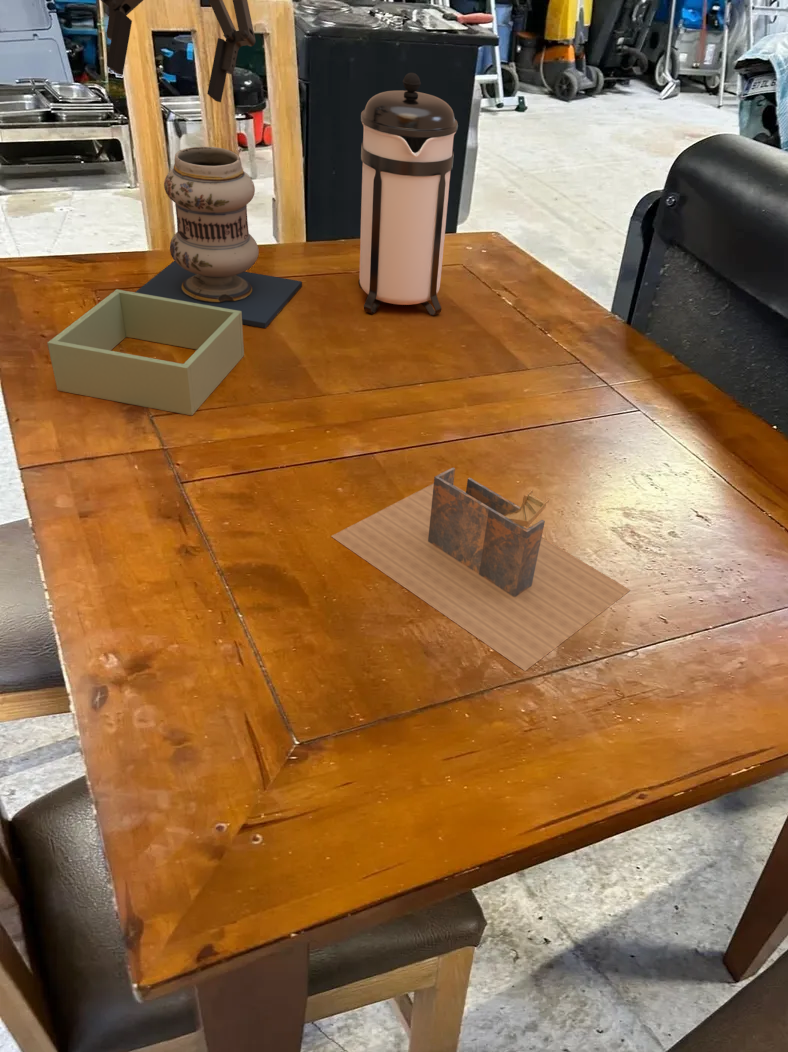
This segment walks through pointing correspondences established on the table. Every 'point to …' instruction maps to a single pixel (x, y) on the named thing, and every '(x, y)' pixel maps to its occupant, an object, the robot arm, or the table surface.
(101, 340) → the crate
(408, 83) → the coffee press
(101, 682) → the table surface
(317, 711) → the table surface
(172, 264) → the mat
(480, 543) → the architectural model on board
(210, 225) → the apothecary jar
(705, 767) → the table surface
